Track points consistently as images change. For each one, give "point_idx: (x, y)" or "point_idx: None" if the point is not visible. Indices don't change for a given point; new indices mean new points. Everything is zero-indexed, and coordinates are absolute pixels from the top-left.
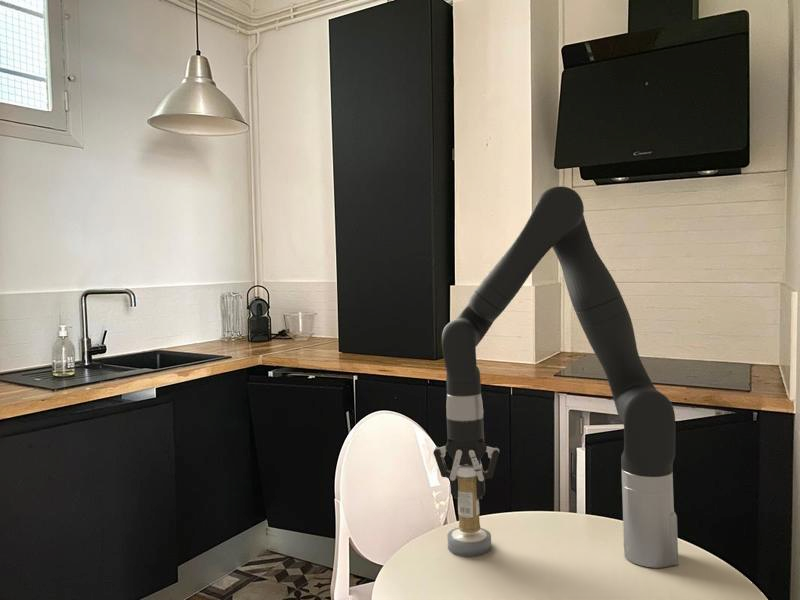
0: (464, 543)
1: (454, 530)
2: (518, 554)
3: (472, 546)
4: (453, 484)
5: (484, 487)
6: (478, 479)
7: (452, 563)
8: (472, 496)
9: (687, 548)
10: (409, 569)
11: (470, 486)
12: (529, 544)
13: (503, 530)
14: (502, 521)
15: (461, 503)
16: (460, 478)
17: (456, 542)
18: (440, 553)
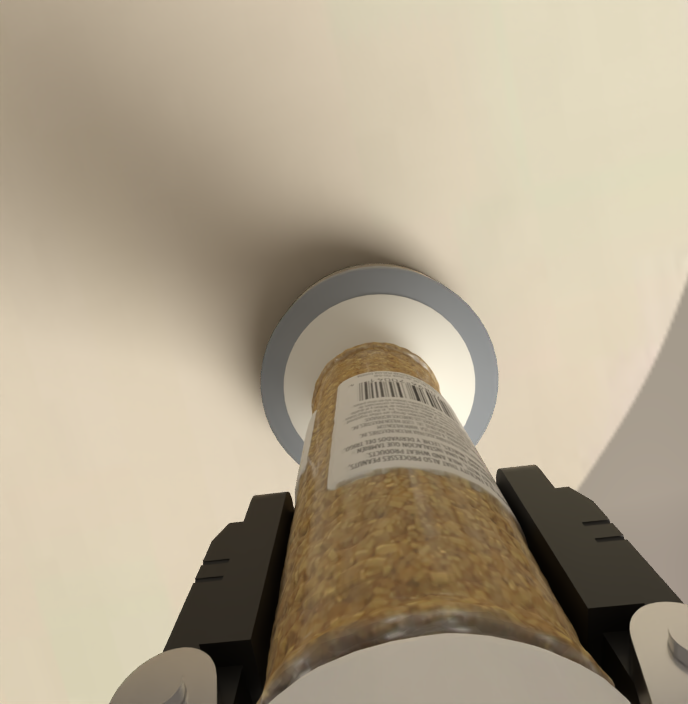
0: (381, 277)
1: (468, 427)
2: (139, 346)
3: (336, 276)
4: (611, 562)
5: (193, 605)
6: (215, 671)
7: (420, 170)
8: (330, 465)
9: None
10: (633, 34)
11: (346, 537)
12: (121, 456)
13: None
14: None
15: (441, 420)
16: (537, 627)
17: (427, 278)
18: (501, 268)
